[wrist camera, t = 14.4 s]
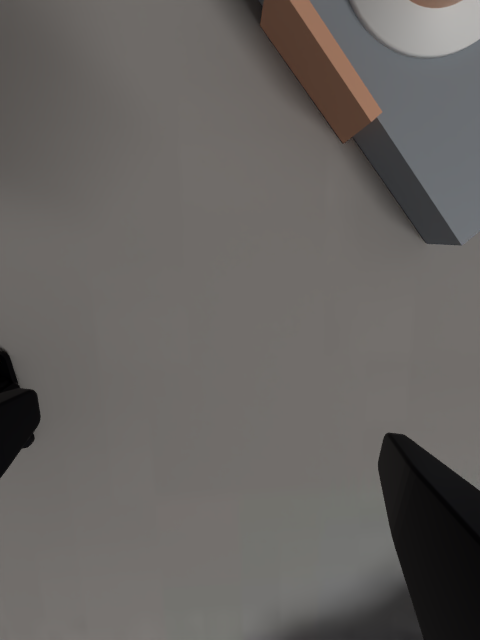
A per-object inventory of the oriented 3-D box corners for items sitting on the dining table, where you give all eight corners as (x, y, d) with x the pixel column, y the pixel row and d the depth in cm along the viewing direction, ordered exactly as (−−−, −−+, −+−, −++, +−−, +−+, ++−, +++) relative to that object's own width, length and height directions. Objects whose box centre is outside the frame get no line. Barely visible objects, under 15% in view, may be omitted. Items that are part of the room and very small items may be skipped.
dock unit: (418, 250, 19) (459, 254, 16) (219, -33, 16) (216, -109, 12) (596, 105, 18) (687, 74, 14) (422, -250, 14) (487, -411, 10)
